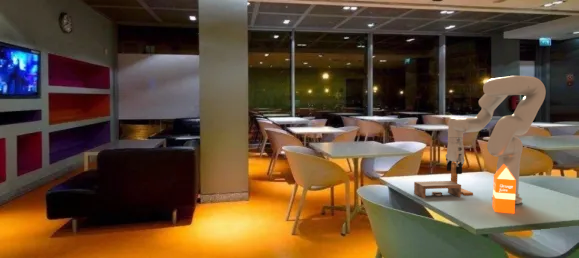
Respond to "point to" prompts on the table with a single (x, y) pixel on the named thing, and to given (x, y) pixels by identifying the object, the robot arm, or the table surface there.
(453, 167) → the brown l-shaped piece
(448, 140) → the robot arm
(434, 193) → the token
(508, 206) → the orange juice
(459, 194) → the wooden shelf stand
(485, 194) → the table surface
